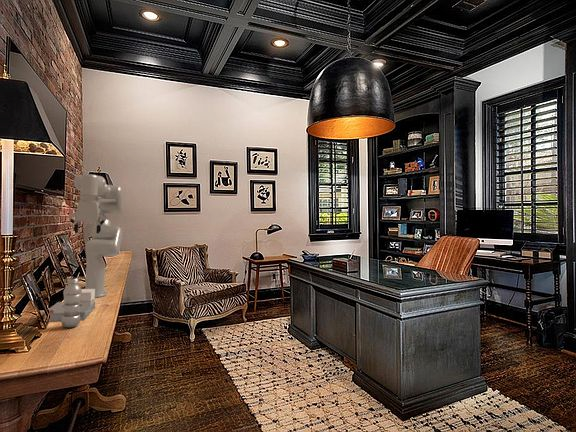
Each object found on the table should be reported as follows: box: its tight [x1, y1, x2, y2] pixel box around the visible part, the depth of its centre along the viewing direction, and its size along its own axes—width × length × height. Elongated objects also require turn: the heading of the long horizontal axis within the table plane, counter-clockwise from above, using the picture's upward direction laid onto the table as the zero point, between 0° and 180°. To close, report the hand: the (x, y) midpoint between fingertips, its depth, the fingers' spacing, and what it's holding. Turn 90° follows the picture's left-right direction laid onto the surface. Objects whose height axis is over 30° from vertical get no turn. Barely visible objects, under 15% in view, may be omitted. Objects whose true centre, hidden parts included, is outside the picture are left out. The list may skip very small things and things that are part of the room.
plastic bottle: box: [60, 277, 82, 329], centre depth 147 cm, size 6×7×20 cm
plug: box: [80, 288, 96, 302], centre depth 180 cm, size 11×6×8 cm, turn 17°
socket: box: [48, 300, 96, 322], centre depth 164 cm, size 20×16×4 cm
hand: (87, 233), depth 179 cm, fingers open, 9 cm apart
